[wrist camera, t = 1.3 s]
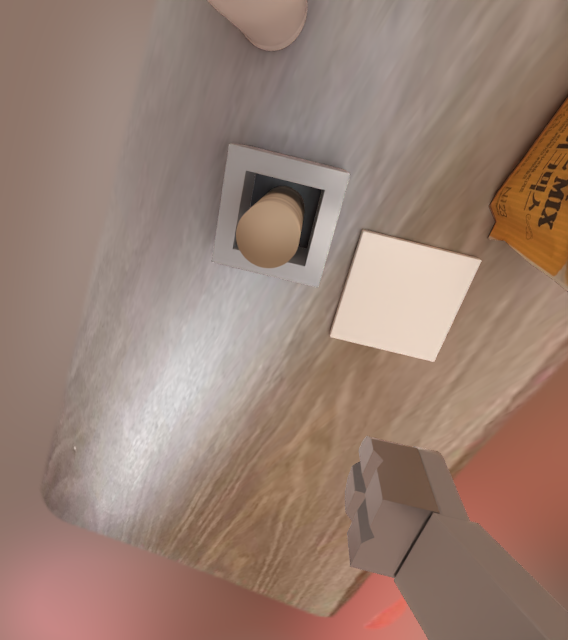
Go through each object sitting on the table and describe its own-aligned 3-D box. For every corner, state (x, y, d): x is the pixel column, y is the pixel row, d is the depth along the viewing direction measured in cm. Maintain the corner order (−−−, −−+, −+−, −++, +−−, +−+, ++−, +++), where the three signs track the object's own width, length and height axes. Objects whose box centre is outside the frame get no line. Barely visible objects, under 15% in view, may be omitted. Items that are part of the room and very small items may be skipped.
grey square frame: (243, 144, 32) (229, 143, 27) (345, 169, 33) (350, 173, 27) (227, 244, 36) (211, 262, 31) (317, 267, 36) (318, 288, 31)
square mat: (362, 228, 35) (363, 231, 34) (477, 257, 35) (481, 260, 34) (329, 332, 39) (329, 336, 38) (431, 356, 39) (434, 361, 39)
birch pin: (266, 181, 34) (241, 197, 23) (309, 192, 34) (306, 213, 23) (257, 225, 35) (231, 260, 24) (299, 235, 35) (291, 274, 24)
